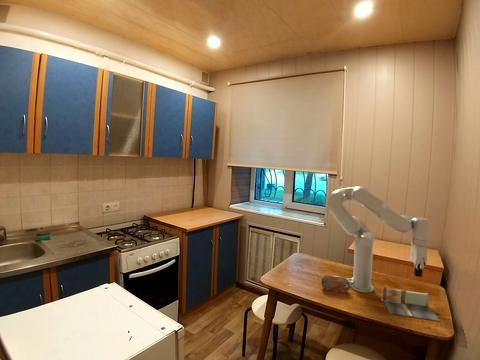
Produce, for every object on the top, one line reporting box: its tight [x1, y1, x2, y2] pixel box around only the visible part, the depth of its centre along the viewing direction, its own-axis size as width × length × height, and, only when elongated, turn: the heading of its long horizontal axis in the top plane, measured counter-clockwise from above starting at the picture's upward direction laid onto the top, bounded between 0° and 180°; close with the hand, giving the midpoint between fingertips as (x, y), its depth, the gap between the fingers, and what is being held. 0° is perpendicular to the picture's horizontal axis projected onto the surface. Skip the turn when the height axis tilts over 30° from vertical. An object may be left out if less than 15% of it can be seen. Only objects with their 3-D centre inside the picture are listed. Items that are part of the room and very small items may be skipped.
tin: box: [320, 274, 351, 294], centre depth 151 cm, size 15×3×8 cm, turn 69°
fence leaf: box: [405, 290, 430, 306], centre depth 137 cm, size 10×1×6 cm, turn 74°
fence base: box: [380, 287, 440, 322], centre depth 136 cm, size 22×19×7 cm
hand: (418, 275), depth 140 cm, fingers closed
